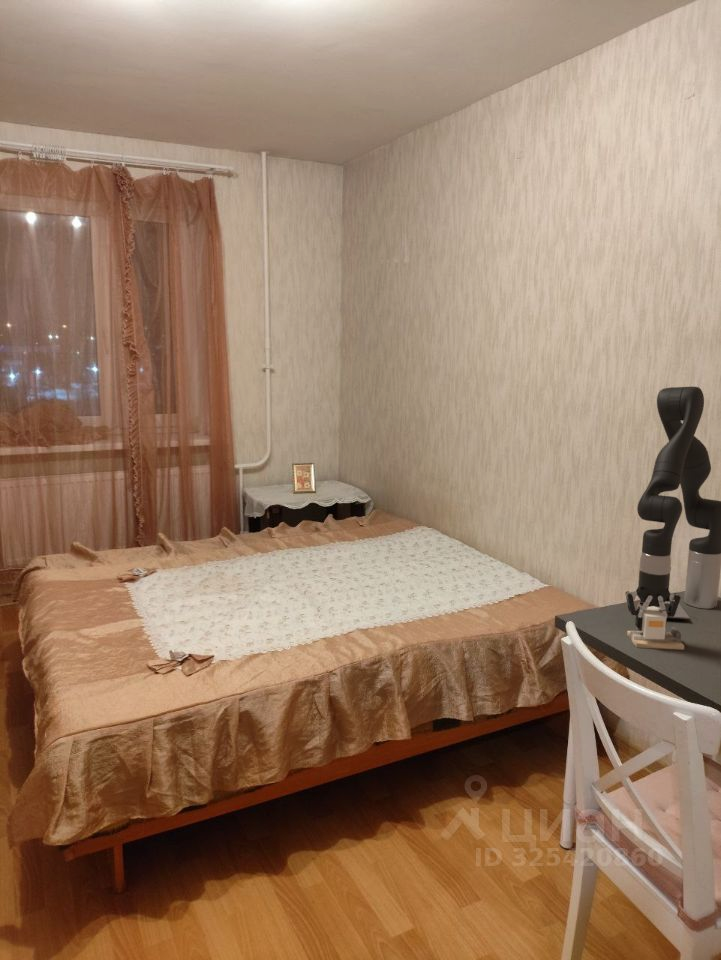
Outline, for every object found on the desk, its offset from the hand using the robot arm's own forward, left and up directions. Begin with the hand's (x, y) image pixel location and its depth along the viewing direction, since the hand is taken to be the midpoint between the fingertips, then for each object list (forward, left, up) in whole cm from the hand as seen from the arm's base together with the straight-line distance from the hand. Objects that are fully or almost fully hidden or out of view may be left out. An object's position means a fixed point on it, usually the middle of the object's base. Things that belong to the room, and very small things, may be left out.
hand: (650, 629), depth 182 cm
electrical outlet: (-22, +11, -4) cm, 25 cm away
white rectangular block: (0, 0, -1) cm, 1 cm away
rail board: (0, +1, -3) cm, 4 cm away
